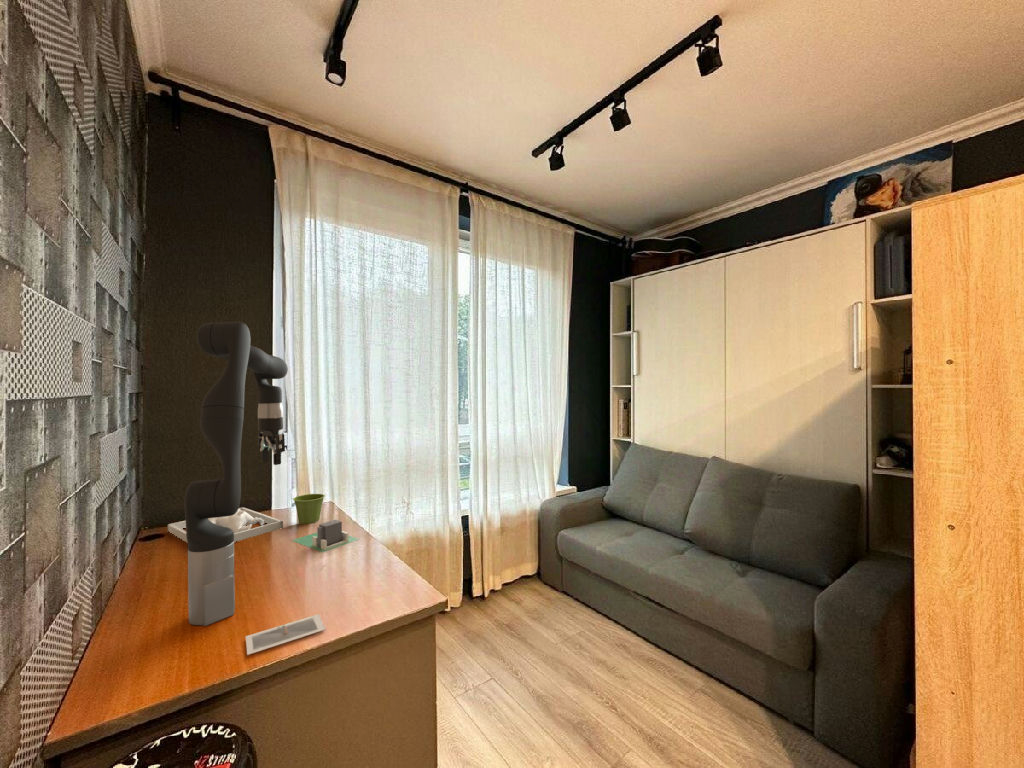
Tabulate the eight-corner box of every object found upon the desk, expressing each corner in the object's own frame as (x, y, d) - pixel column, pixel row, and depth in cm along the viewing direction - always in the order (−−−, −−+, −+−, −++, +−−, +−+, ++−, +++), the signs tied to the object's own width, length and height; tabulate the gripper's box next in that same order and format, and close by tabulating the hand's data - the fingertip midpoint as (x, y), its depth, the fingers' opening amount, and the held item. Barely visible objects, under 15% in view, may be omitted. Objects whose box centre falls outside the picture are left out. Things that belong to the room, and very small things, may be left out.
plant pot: (327, 525, 167) (327, 497, 167) (295, 531, 160) (294, 502, 160) (322, 517, 177) (322, 491, 177) (291, 523, 170) (291, 496, 170)
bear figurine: (265, 534, 169) (218, 520, 168) (272, 504, 167) (224, 490, 167) (237, 556, 152) (185, 541, 152) (245, 523, 151) (191, 508, 150)
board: (359, 543, 147) (359, 530, 147) (322, 557, 135) (322, 543, 135) (328, 532, 158) (327, 521, 158) (291, 544, 147) (291, 531, 147)
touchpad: (325, 634, 93) (325, 624, 93) (247, 660, 85) (247, 649, 85) (319, 618, 100) (318, 609, 100) (245, 641, 91) (245, 631, 91)
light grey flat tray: (283, 528, 164) (283, 520, 164) (202, 551, 142) (202, 542, 142) (243, 514, 184) (243, 507, 184) (167, 532, 162) (167, 524, 162)
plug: (341, 541, 144) (341, 521, 144) (322, 548, 138) (322, 527, 138) (335, 539, 147) (335, 519, 147) (316, 545, 141) (315, 525, 141)
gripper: (249, 416, 143) (249, 463, 142) (269, 417, 134) (269, 467, 134) (271, 415, 149) (272, 459, 149) (292, 416, 141) (292, 463, 140)
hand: (271, 463), depth 141 cm, fingers open, 8 cm apart
